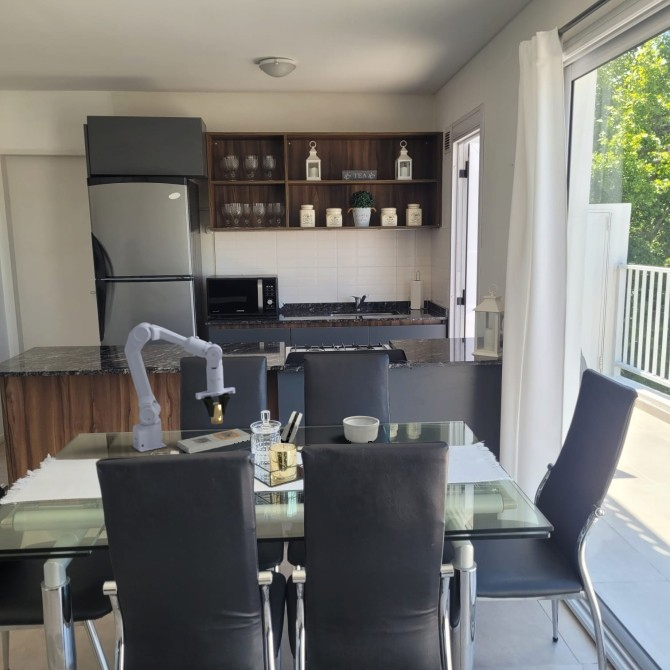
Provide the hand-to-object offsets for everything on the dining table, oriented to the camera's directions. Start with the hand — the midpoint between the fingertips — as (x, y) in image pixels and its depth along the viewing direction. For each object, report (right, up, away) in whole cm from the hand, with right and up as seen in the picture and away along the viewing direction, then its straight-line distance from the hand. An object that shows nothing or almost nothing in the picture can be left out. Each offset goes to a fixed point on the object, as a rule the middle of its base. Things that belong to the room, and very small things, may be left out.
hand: (216, 415), depth 210 cm
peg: (0, -3, 0) cm, 3 cm away
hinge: (+26, -9, +8) cm, 29 cm away
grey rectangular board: (-1, -10, +1) cm, 10 cm away
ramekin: (+52, -9, +4) cm, 53 cm away
